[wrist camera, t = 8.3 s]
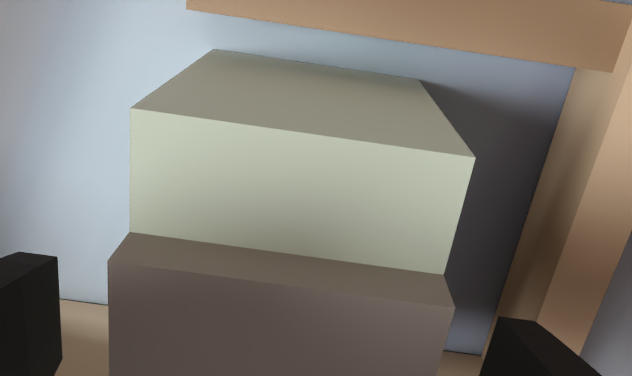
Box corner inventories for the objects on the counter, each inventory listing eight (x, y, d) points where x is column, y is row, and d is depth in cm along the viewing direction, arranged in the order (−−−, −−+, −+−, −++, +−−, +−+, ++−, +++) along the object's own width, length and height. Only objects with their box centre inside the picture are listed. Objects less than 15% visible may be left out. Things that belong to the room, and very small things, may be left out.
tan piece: (504, 416, 15) (549, 538, 12) (-49, 343, 15) (-155, 449, 12) (655, 9, 11) (790, 29, 8) (-121, -110, 10) (-322, -142, 7)
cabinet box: (369, 304, 14) (392, 524, 9) (198, 280, 14) (111, 489, 8) (417, 78, 12) (493, 180, 6) (213, 48, 12) (106, 125, 6)
